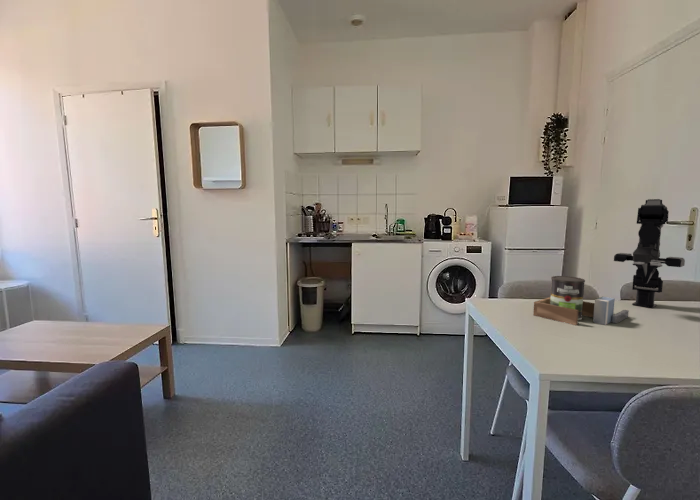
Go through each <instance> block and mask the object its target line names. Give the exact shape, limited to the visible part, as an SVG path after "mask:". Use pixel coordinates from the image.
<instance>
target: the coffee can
mask: <svg viewBox="0 0 700 500" xmlns="http://www.w3.org/2000/svg"><path fill="white" fill-rule="evenodd" d="M585 283H586V280H585V278H581V277H576V276H570V275H569V276H568V275H555V276H554V275H553V276H551V284H550V297H551V298H550V304H551V305H556V306H560V307H565V308H570V309H575V310H578V321H581V320H582V319H583V315H582V308H583V301H584V295H585V294H584V293H585Z"/></svg>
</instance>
